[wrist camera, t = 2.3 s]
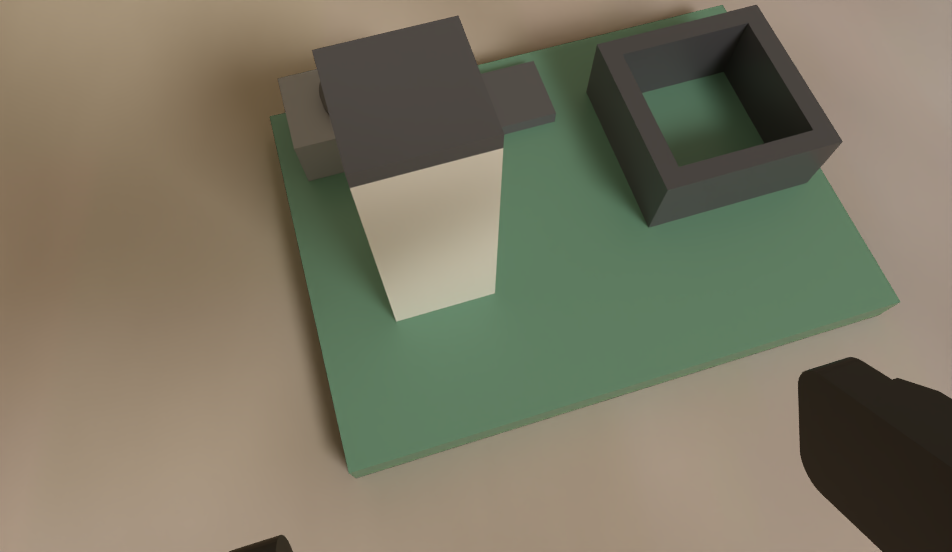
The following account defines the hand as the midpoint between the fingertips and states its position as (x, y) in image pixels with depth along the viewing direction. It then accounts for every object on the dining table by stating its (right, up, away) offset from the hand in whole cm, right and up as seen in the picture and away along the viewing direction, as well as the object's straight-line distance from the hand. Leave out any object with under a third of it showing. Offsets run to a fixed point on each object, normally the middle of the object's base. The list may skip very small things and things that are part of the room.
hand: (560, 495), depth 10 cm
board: (+2, +6, +19) cm, 20 cm away
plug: (-3, +4, +17) cm, 17 cm away
